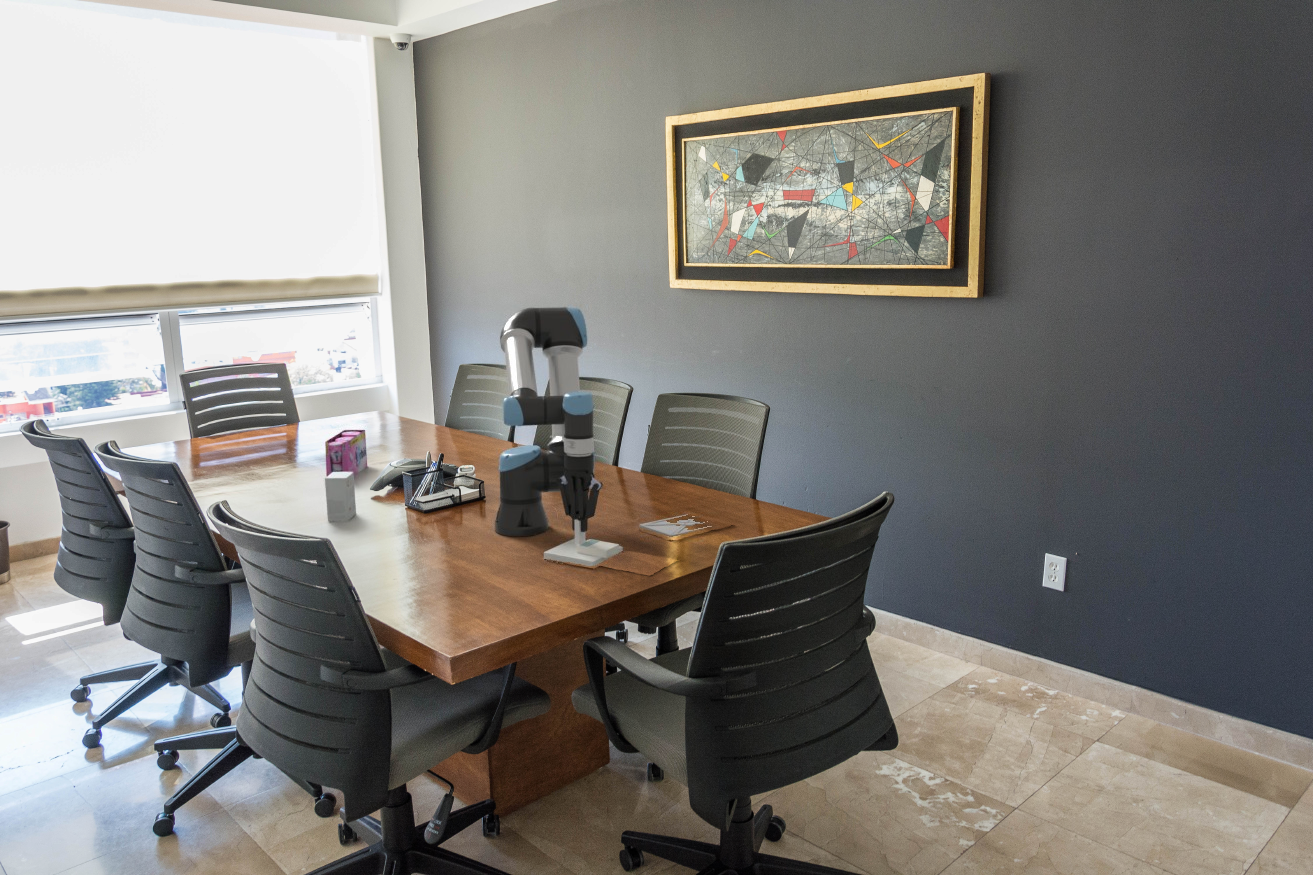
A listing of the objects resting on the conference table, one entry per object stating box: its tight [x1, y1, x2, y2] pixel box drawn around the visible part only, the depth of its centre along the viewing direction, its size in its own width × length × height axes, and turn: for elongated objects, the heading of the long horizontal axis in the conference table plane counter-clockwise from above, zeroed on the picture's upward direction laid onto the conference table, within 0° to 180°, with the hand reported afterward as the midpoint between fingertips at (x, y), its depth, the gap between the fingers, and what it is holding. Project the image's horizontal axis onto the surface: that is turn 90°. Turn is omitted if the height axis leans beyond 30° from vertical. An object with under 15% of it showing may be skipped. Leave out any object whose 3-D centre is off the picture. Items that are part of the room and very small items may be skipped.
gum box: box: [324, 429, 368, 477], centre depth 338 cm, size 24×8×14 cm, turn 1°
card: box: [577, 538, 620, 558], centre depth 246 cm, size 6×9×2 cm, turn 60°
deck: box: [543, 537, 624, 566], centre depth 249 cm, size 14×15×2 cm
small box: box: [324, 472, 357, 522], centre depth 283 cm, size 8×6×13 cm
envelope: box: [638, 513, 712, 537], centre depth 275 cm, size 24×2×14 cm
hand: (580, 543), depth 249 cm, fingers closed
